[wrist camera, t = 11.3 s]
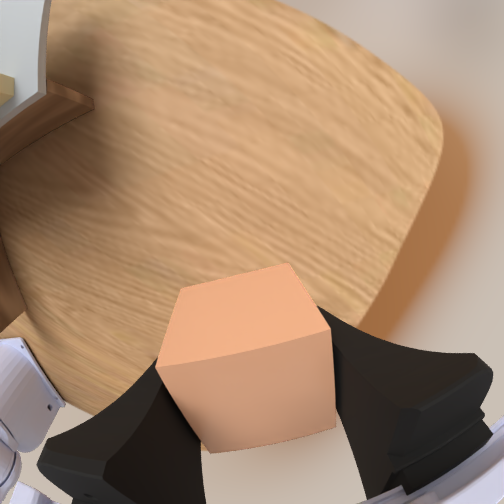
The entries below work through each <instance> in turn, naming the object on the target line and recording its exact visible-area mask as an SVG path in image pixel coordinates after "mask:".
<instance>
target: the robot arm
mask: <svg viewBox="0 0 504 504" xmlns="http://www.w3.org/2000/svg"><path fill="white" fill-rule="evenodd" d="M317 308H318V309H319V311H320V313H321V314H322V316H323V317H324V319H325V321H326V322H327V324H328V325H329V327H330V329H331V338H332V350H333V364H334V381H335V404H336V409H337V412H338V414H339V416H340V419H341V421H342V424H343V427H344V429H345V432H346V434H347V438H348V440H349V443H350V446H351V449H352V451H353V455H354V458H355V461H356V464H357V467H358V470H359V473H360V477H361V480H362V484H363V487H364V491H365V494H366V498H367V500H366V501H363V502H361V503H358V504H497V503H498V502H499V501H500V500H501V499H502V498H503V497H504V415H503V416H502V417H501V418H500V419H499V420H498V421H497V422H496V423H494V424H493V425H492V426H491V427H490V428H488V426H487V425H486V424H485V423H484V422H483V420H482V419H483V418H484V416H485V413H484V412H483V411H482V410H481V409H480V406H481V404H482V403H483V401H484V399H485V397H486V395H487V393H488V391H489V389H490V386H491V383H492V379H493V371H492V369H491V368H490V367H489V366H488V365H487V364H486V363H485V362H484V361H482V360H481V359H480V358H479V357H478V356H477V355H476V354H475V353H441V352H431V351H424V350H418V349H414V348H409V347H405V346H401V345H397V344H393V343H391V342H388V341H385V340H382V339H379V338H376V337H374V336H371V335H369V334H367V333H365V332H362V331H360V330H358V329H356V328H354V327H352V326H351V325H349V324H347V323H345V322H343V321H342V320H340V319H338V318H337V317H335V316H333V315H332V314H330V313H328V312H327V311H325V310H324V309H322V308H320V307H319V306H317ZM157 360H158V357H157V359H156V360H155V361H154V362H153V363H152V365H151V366H150V367H149V368H148V369H147V370H146V371H145V373H144V374H143V375H142V376H141V377H140V378H139V379H138V380H137V381H136V382H135V383H134V384H133V385H132V386H131V387H130V388H129V389H128V390H127V391H126V392H125V393H124V394H123V395H122V396H120V397H119V398H118V399H117V400H116V401H115V402H113V403H112V404H111V405H109V406H108V407H107V408H105V409H104V410H102V411H101V412H100V413H98V414H97V415H95V416H94V417H92V418H91V419H89V420H87V421H86V422H84V423H82V424H80V425H78V426H76V427H74V428H73V429H70V430H68V431H66V432H63V433H61V434H59V435H56V436H54V437H51V438H48V439H47V441H46V444H45V446H44V448H43V450H42V453H41V455H40V458H39V460H38V462H37V467H38V469H39V471H40V472H41V473H42V474H43V475H44V476H45V477H46V478H47V479H48V480H49V481H51V482H52V483H53V484H54V485H56V486H57V487H58V488H60V489H61V490H63V491H64V492H65V493H67V494H68V495H70V496H71V497H73V500H72V504H206V499H205V493H204V485H203V476H202V464H201V440H200V439H199V437H198V436H197V435H196V433H195V432H194V430H193V429H192V427H191V426H190V424H189V423H188V421H187V420H186V418H185V417H184V415H183V414H182V412H181V410H180V409H179V407H178V406H177V404H176V403H175V401H174V399H173V398H172V396H171V394H170V393H169V391H168V389H167V388H166V386H165V384H164V382H163V381H162V379H161V377H160V375H159V374H158V372H157V370H156V368H155V366H156V363H157ZM65 405H66V404H65V402H64V401H63V399H62V398H61V397H60V395H59V394H58V393H57V391H56V390H55V389H54V387H53V386H52V384H51V383H50V382H49V380H48V379H47V377H46V376H45V374H44V373H43V371H42V370H41V368H40V366H39V365H38V363H37V362H36V360H35V358H34V357H33V355H32V353H31V352H30V350H29V348H28V347H27V345H26V343H25V341H24V340H23V339H22V338H21V337H17V338H8V339H0V504H1V503H2V501H3V500H4V499H5V496H6V495H7V493H8V491H9V490H10V489H11V488H12V487H13V486H14V485H15V484H16V482H17V480H18V478H19V476H20V472H21V467H22V466H21V465H22V464H21V457H20V454H19V452H18V451H20V452H25V453H26V452H31V451H33V450H35V449H36V448H37V447H38V446H39V445H40V444H41V443H42V441H43V440H44V438H45V436H46V434H47V432H48V429H49V427H50V425H51V424H52V421H53V420H54V417H55V416H56V414H57V412H58V410H59V408H60V407H65ZM17 450H18V451H17ZM9 504H60V503H57V502H55V501H52V500H50V498H48V497H47V496H46V495H44V494H43V493H41V492H40V491H38V490H37V489H35V488H32V487H31V486H29V485H26V484H24V483H22V482H20V481H18V482H17V484H16V487H15V490H14V492H13V495H12V497H11V500H10V503H9Z"/></svg>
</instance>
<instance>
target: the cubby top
mask: <svg viewBox="0 0 504 504" xmlns="http://www.w3.org/2000/svg"><path fill="white" fill-rule="evenodd" d="M50 6H51V0H0V128H1V127H2V126H3V125H4V124H6V123H7V122H8V121H9V120H11V119H12V118H13V117H15V116H16V115H17V114H19V113H20V112H21V111H23V110H24V109H25V108H27V107H28V106H30V105H31V104H33V103H34V102H36V101H37V100H39V99H40V98H42V97H43V96H45V95H46V45H47V31H48V21H49V13H50Z"/></svg>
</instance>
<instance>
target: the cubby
mask: <svg viewBox="0 0 504 504" xmlns="http://www.w3.org/2000/svg"><path fill="white" fill-rule="evenodd" d="M93 109H94V104H93V99H91V98H89V97H87V96H85V95H83V94H81V93H79V92H76V91H74V90H72V89H70V88H67V87H65V86H63V85H61V84H58V83H56V82H54V81H51V80H49V79H46V95H45V96H43V97H42V98H40V99H39V100H37V101H36V102H34V103H33V104H31V105H30V106H28V107H27V108H25V109H24V110H23V111H21V112H20V113H19V114H17V115H16V116H15V117H13V118H12V119H11V120H9V121H8V122H7V123H6V124H4V125H3V126H2V127H1V128H0V165H1V164H2V163H4V162H5V161H7V160H8V159H9V158H11V157H12V156H13V155H15V154H16V153H18V152H19V151H21V150H22V149H24V148H25V147H27V146H28V145H30V144H31V143H33V142H34V141H36V140H37V139H39V138H41V137H42V136H44V135H46V134H47V133H49V132H51V131H53V130H54V129H56V128H58V127H60V126H61V125H63V124H65V123H67V122H69V121H71V120H73V119H75V118H76V117H78V116H80V115H82V114H84V113H87V112H89V111H91V110H93ZM26 309H27V306H26V304H25V302H24V300H23V297H22V295H21V293H20V290H19V288H18V285H17V283H16V280H15V278H14V275H13V272H12V270H11V267H10V264H9V261H8V258H7V255H6V252H5V249H4V246H3V242H2V239H1V235H0V333H1V332H2V331H3V330H4V329H5V328H6V327H7V326H8V325H9V324H10V323H12V322H13V321H14V320H15V319H16V318H17V317H18V316H19V315H20V314H22V313H23V312H24V311H25V310H26Z"/></svg>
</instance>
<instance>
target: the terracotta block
mask: <svg viewBox="0 0 504 504" xmlns="http://www.w3.org/2000/svg"><path fill="white" fill-rule="evenodd" d="M155 368H156V370H157V372H158V374H159V375H160V377H161V379H162V381H163V382H164V384H165V386H166V388H167V389H168V391H169V393H170V394H171V396H172V398H173V399H174V401H175V403H176V404H177V406H178V407H179V409H180V410H181V412H182V414H183V415H184V417H185V418H186V420H187V421H188V423H189V424H190V426H191V427H192V429H193V430H194V432H195V433H196V435H197V436H198V437H199V439H200V440H201V442H202V443H203V444H204V446H205V447H206V448H207V450H208V451H209V453H221V452H229V451H236V450H243V449H249V448H255V447H261V446H266V445H270V444H276V443H280V442H285V441H289V440H293V439H297V438H300V437H304V436H308V435H312V434H315V433H319V432H322V431H325V430H328V429H332V428H334V427H336V404H335V381H334V364H333V350H332V338H331V329H330V327H329V325H328V324H327V322H326V321H325V319H324V317H323V316H322V314H321V313H320V311H319V309H318V308H317V306H316V305H315V303H314V302H313V300H312V299H311V297H310V295H309V294H308V292H307V291H306V289H305V288H304V286H303V285H302V283H301V281H300V280H299V278H298V277H297V275H296V274H295V272H294V271H293V269H292V268H291V266H290V264H289V263H284V264H280V265H276V266H272V267H268V268H264V269H260V270H256V271H252V272H248V273H243V274H239V275H235V276H231V277H227V278H223V279H219V280H214V281H210V282H206V283H202V284H197V285H193V286H189V287H184V288H181V290H180V293H179V296H178V299H177V301H176V304H175V307H174V310H173V313H172V316H171V319H170V322H169V325H168V328H167V331H166V334H165V337H164V340H163V344H162V347H161V350H160V353H159V356H158V360H157V363H156V366H155Z"/></svg>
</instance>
